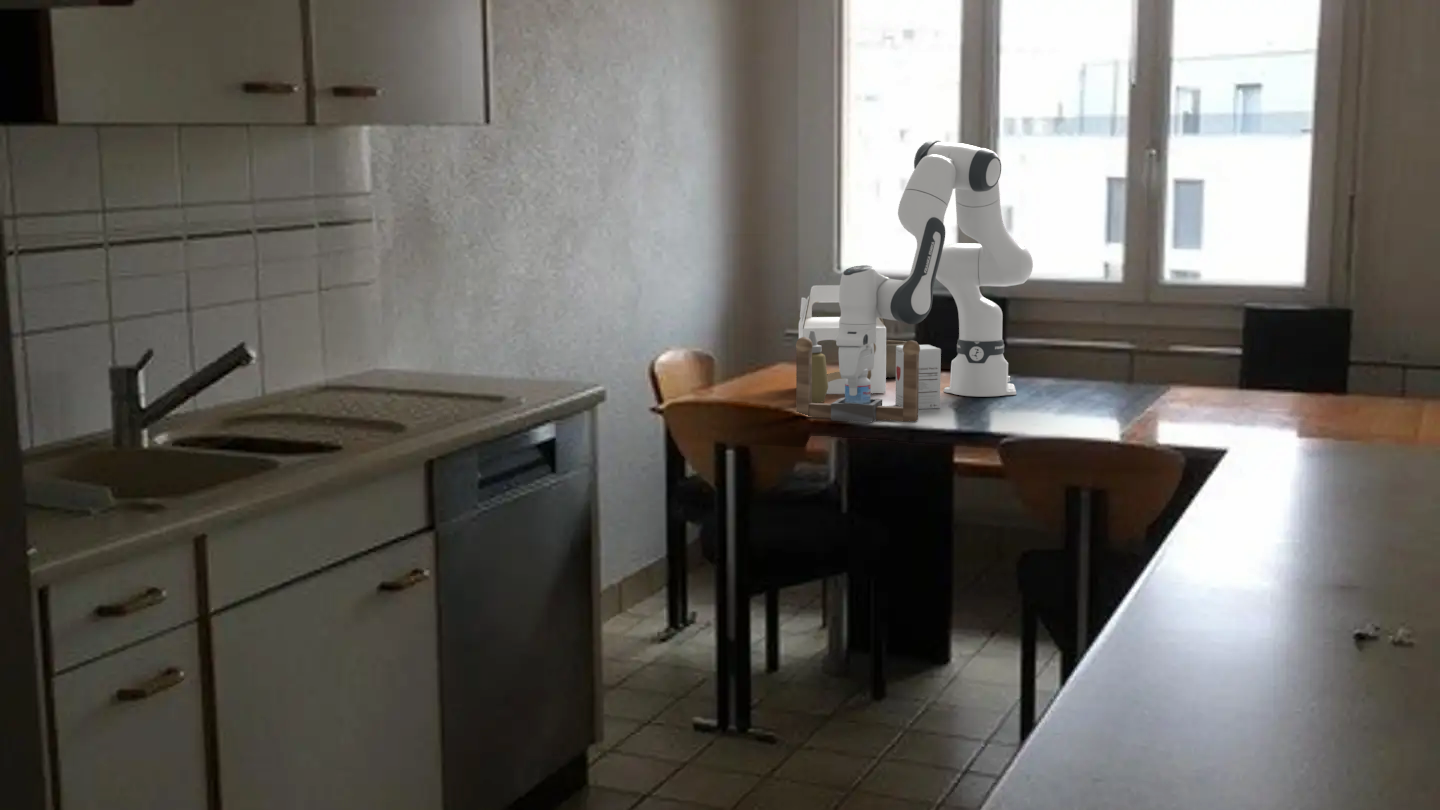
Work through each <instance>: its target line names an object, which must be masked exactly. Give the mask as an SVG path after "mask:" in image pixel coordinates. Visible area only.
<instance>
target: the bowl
mask: <svg viewBox="0 0 1440 810" xmlns="http://www.w3.org/2000/svg"><path fill="white" fill-rule="evenodd" d="M906 342H907V341H906V340H905V341H904V340H892V339H891V340H889V339H888V340H887V339H886V378H887V377H889V378H896V346H899V345H904V344H905V343H906Z"/></svg>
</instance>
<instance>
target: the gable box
mask: <svg viewBox="0 0 1440 810" xmlns="http://www.w3.org/2000/svg"><path fill="white" fill-rule="evenodd" d="M839 291H840V284H829V285H828V284H817V285H816V284H813V285H812V286H811V287H810V291H809V295H808V296H807V298H806V297H805V296H804V297H803V296H802V297H801V298H800V299H801V300H800V309H799V311H800V312H799V321H798V339H799V338H801V337H807V338H809V334H810V331H815V335H816V339H817V343H819V342H820V341H836V338H837V336H838V334H839V320H840V316H818V317H817V316H813V314H812V313H813V312H812V311H813V309H812V308H813V306H814V304H819V303H821V304H822V303H823V304H824V303H839ZM876 320H877V340H876V343H874V368H873V369H872V370H870V371H868V374H867V378H868V379H869V380H870V382H871V393H872V394H873V393H885V394H886V393H887V385H886V384H887V379H886V340H887V326H886V322H885V319H883V318H878V317H877V318H876ZM827 380H828V390H827V393H826V395H845V381H846V379H844V378H841V375H840V371H834V372H829V373H827ZM872 394H871V395H872ZM873 395H874V394H873Z"/></svg>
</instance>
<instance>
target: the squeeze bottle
mask: <svg viewBox="0 0 1440 810" xmlns="http://www.w3.org/2000/svg"><path fill="white" fill-rule="evenodd" d="M809 339H810V340H811V341H812V344H813V347H812V403H823V402H824V401H825V398H826V395H827V394H826V393H827V390H828V380H827V374H828V373H827V372H828V371H827V362H826V361H827V360H826V359H827V358H826V355H825V354H824V353H822V347H823V346H822V344H821V345H820V344H818V342H817V339H816V335H815V331H810V334H809Z"/></svg>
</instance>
